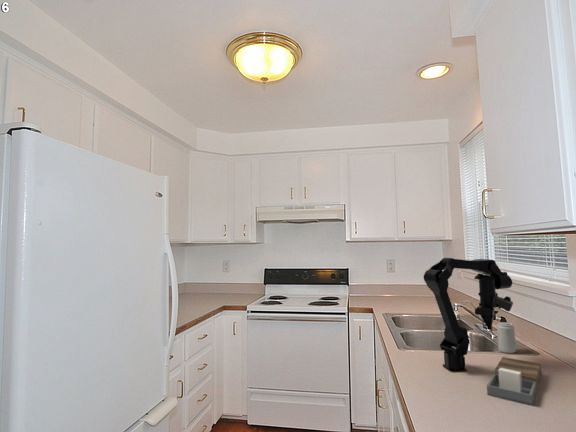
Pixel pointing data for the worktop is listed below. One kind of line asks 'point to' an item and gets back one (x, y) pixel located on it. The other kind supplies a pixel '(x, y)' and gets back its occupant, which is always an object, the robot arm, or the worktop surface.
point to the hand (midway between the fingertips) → (489, 329)
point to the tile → (510, 379)
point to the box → (521, 397)
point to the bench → (521, 369)
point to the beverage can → (506, 337)
